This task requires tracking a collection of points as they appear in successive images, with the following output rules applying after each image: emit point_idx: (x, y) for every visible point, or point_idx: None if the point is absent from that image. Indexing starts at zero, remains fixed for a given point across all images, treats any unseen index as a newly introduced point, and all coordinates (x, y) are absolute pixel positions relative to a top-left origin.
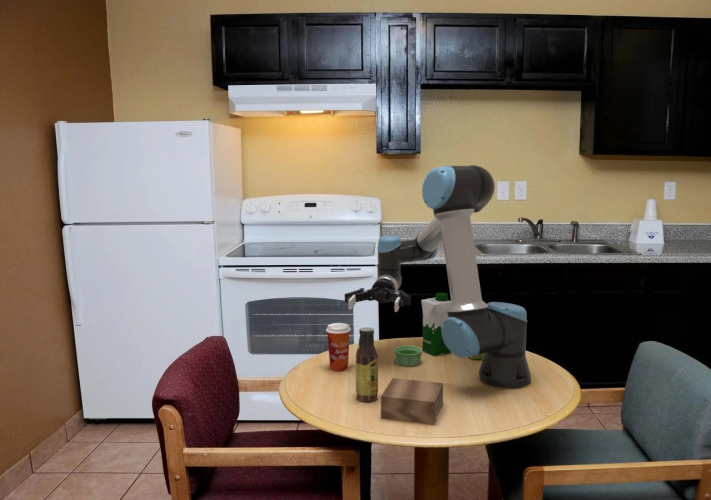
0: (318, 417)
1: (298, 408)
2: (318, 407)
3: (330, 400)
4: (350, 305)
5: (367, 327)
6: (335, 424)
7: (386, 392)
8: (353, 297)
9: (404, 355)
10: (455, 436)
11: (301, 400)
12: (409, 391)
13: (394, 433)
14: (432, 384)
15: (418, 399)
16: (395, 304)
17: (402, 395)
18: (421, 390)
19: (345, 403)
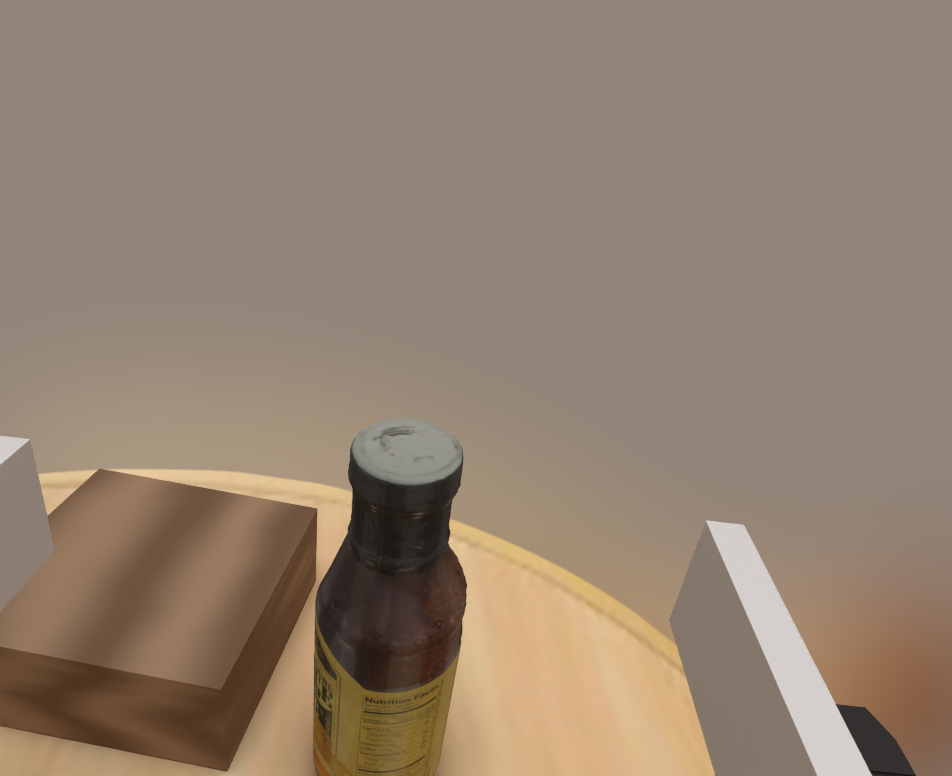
0: (552, 582)
1: (661, 644)
2: (585, 655)
3: (560, 726)
4: (691, 580)
5: (404, 476)
6: (478, 543)
7: (288, 534)
8: (777, 683)
9: None
10: (75, 484)
11: (693, 718)
12: (174, 543)
13: (278, 499)
14: (5, 610)
15: (160, 486)
16: (21, 464)
17: (220, 513)
18: (108, 550)
19: (479, 698)
